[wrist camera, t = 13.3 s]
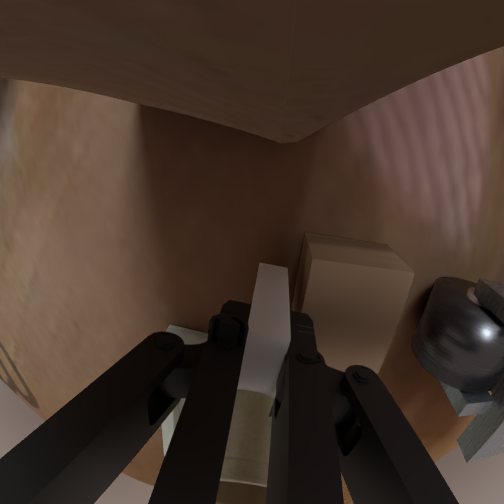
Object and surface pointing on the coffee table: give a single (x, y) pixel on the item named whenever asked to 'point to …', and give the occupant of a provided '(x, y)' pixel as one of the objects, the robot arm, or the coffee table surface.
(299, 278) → the block
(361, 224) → the coffee table surface
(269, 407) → the flower pot
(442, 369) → the caster wheel
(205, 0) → the wooden block
